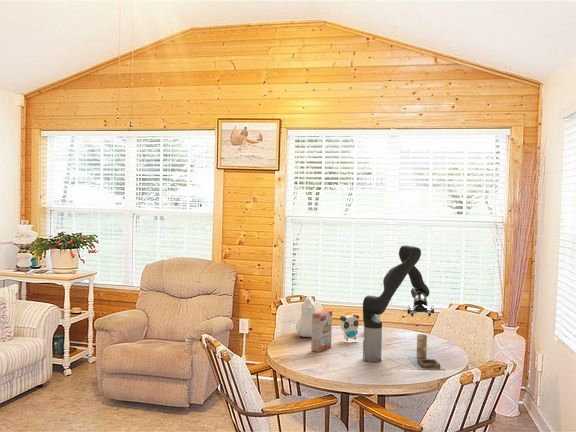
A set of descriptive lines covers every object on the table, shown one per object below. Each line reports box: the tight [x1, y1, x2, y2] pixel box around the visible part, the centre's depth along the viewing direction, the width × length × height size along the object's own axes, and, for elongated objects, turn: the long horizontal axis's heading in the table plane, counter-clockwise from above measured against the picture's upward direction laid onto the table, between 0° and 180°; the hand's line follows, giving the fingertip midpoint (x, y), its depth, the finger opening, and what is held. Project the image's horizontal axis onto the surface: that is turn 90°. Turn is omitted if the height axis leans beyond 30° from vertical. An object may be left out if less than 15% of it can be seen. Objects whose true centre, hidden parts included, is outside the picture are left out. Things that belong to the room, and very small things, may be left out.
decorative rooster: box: [295, 296, 317, 338], centre depth 332 cm, size 25×16×25 cm, turn 170°
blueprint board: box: [406, 355, 446, 371], centre depth 273 cm, size 14×22×1 cm, turn 1°
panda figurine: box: [339, 314, 360, 341], centre depth 319 cm, size 12×11×15 cm
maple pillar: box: [416, 333, 428, 359], centre depth 281 cm, size 5×5×12 cm
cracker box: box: [310, 309, 333, 353], centre depth 299 cm, size 14×6×21 cm, turn 149°
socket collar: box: [417, 358, 441, 370], centre depth 267 cm, size 9×9×2 cm
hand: (420, 315), depth 289 cm, fingers open, 8 cm apart
